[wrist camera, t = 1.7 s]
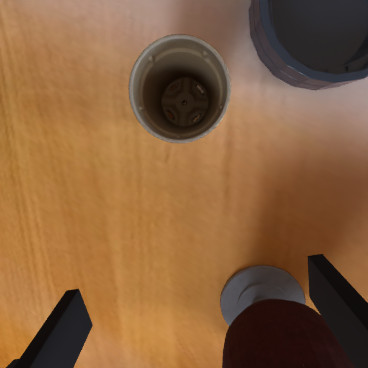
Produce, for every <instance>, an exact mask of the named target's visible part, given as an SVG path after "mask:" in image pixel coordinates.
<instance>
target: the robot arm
mask: <svg viewBox="0 0 368 368" xmlns="http://www.w3.org/2000/svg"><path fill="white" fill-rule="evenodd" d="M308 275H309V297H310V299H311V300H312V302H313V303H314V305H315V306H316V308H317V309H318V311H319V313H320V314H321V316H322V317H323V319H324V320H325V322H326V323H327V325H328V326H329V328H330V330H331V331H332V333H333V334H334V336H335V337H336V339H337V340H338V342H339V344H340V345H341V347H342V348H343V350H344V351H345V353H346V354H347V356H348V358H349V359H350V361H351V362H352V364H353V365H354V367H355V368H368V303H367V302H366V301H365V300H364V299H363V298H362V296H361V295H360V294H359V293H358V292H357V291H356V290H355V289H354V288H353V287H352V286H351V285H350V284H349V282H348V281H347V280H346V279H345V278H344V277H343V276H342V275H341V274H340V273H339V272H338V271H337V269H336V268H335V267H334V266H333V265H332V264H331V263H330V262H329V261H328V260H327V259H326V258H325V257H324V255H323V254H318V255H312V256H308ZM92 326H93V325H92V322H91V319H90V317H89V314H88V312H87V309H86V306H85V304H84V301H83V298H82V296H81V293H80V291H79V289H74V290H67V291H66V292H65V294H64V295H63V296H62V298H61V299H60V301H59V302H58V304H57V305H56V307H55V308H54V310H53V311H52V312H51V314H50V315H49V317H48V318H47V320H46V321H45V323H44V324H43V326H42V327H41V328H40V330H39V331H38V333H37V334H36V336H35V337H34V339H33V340H32V342H31V343H30V344H29V346H28V347H27V349H26V350H25V352H24V353H23V355H22V356H21V358H20V359H15V360H13V361H12V362H11V363H10V364H9V365H8V366H7V367H6V368H73V367H74V365H75V363H76V361H77V359H78V356H79V354H80V352H81V350H82V348H83V345H84V343H85V341H86V339H87V337H88V334H89V332H90V330H91V328H92Z"/></svg>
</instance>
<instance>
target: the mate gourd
mask: <svg viewBox="0 0 368 368" xmlns="http://www.w3.org/2000/svg"><path fill="white" fill-rule="evenodd" d="M220 303H221V311H222V315H223V317H224V319H225V321H226V323H227V324H228V325H229V329H228V331H227V333H226V338H225V343H224V349H223V363H222V368H355V367H354V365H353V364H352V362H351V361H350V359H349V358H348V356H347V354H346V353H345V351H344V350H343V348H342V347H341V345H340V344H339V342H338V340H337V339H336V337H335V336H334V334H333V333H332V331H331V330H330V328H329V326H328V325H327V323H326V322H325V320H324V319H323V317H322V316H321V315H320V314H318V313H317V312H316V311H315V310H314V309H312V308H310V307H308V306H306V305H305V296H304V293H303V290H302V288H301V286H300V285H299V283H298V282H297V281H296V279H295V278H294V277H293V276H292V275H290V274H289V273H288V272H286V271H284V270H282V269H280V268H277V267H274V266H267V265H257V266H252V267H248V268H246V269H243V270H241V271H239V272H238V273H236V274H234V275H233V276H232V277H231V278H230V279H229V280H228V282H227V283H226V284H225V286H224V288H223V290H222V293H221V299H220Z"/></svg>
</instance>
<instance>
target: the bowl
mask: <svg viewBox="0 0 368 368" xmlns="http://www.w3.org/2000/svg"><path fill="white" fill-rule="evenodd" d="M249 21H250V35H251V38H252V41H253V43H254V46H255V48H256V51H257V53H258V56H259V58H260V60H261V61H262V62H263V63H264V64H265V66H266V67H267V68H268V69H269V70H270V72H271V73H272V74H273V75H274V76H276V77H277V78H279V79H281V80H283V81H284V82H286V83H288V84H290V85H291V86H294V87H299V88H305V89H310V90H320V89H327V88H333V87H339V86H342V85H345V84H348V83H351V82H354V81H357V80H360V79H363V78H365V77H367V76H368V0H251V2H250V7H249Z"/></svg>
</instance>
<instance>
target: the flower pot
mask: <svg viewBox="0 0 368 368" xmlns="http://www.w3.org/2000/svg"><path fill="white" fill-rule="evenodd" d="M175 84H177V86H176V87H175V89H173V90H171V91H170V90H169V89H170V88H171V87H172V86H173V85H175ZM197 85H199V86H201V88H202V89H203V91H204V93H203V94H201V92H200V91H199V89H198V88H197V87H196V86H197ZM230 95H231V80H230V76H229V72H228V69H227V66H226V64H225V63H224V61H223V59H222V57H221V56H220V55H219V53H218V52H217V51H216V50H215V49H214V48H213V47H212V46H211V45H209V44H208V43H206V42H205V41H203V40H201V39H199V38H197V37H194V36H191V35H183V34H175V35H169V36H165V37H163V38H160V39H158V40H156V41H155V42H153V43H152V44H150V45H149V46H148V47H147V48H146V49H145V50H144V51H143V52H142V53H141V55H140V56H139V57H138V59H137V60H136V62H135V64H134V66H133V69H132V72H131V75H130V82H129V98H130V103H131V107H132V109H133V112H134V114H135V116H136V118H137V119H138V121H139V122H140V124H141V125H142V126H143V127H144V128H145V129H146V130H147V131H148V132H149V133H151V134H152V135H153V136H155V137H157V138H159V139H161V140H164V141H167V142H171V143H188V142H192V141H195V140H198V139H200V138H202V137H204V136H205V135H207V134H208V133H210V132H211V131H212V130H213V129H214V128H215V127H216V126H217V125H218V124H219V123H220V121H221V120H222V118H223V116H224V115H225V112H226V110H227V107H228V104H229V101H230ZM183 101H186V104H184V103H183ZM167 111H170V112H171V113H172V115H173V116H174V117H175V118H174V119H171V118H170V117H169V115H168V113H167ZM198 114H200V117H199V118H198V119H197V120H196V121H195V122H193V121H192V119H193V118H195V117H196V116H197V115H198Z"/></svg>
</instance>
